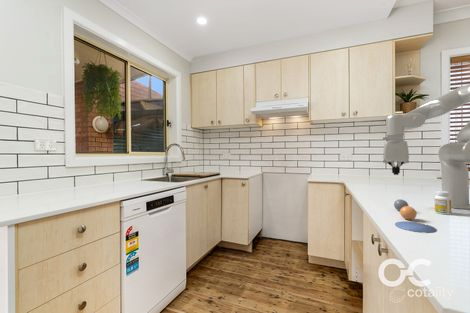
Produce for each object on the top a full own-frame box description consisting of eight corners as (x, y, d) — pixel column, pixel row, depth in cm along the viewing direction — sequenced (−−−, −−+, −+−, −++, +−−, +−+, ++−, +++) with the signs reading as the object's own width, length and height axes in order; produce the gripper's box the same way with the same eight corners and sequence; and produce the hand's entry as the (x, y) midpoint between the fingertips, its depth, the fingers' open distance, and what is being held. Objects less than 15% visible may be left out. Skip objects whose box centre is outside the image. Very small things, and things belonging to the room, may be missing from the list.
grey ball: (393, 209, 106) (392, 198, 106) (407, 210, 104) (406, 198, 104) (395, 212, 102) (394, 200, 102) (410, 213, 99) (409, 201, 99)
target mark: (392, 220, 90) (392, 220, 90) (430, 224, 84) (430, 223, 84) (398, 230, 79) (398, 229, 79) (441, 234, 73) (441, 234, 73)
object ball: (398, 216, 94) (398, 204, 94) (414, 218, 91) (414, 205, 91) (401, 220, 89) (401, 207, 89) (418, 222, 87) (418, 208, 87)
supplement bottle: (444, 211, 100) (443, 190, 99) (455, 214, 94) (454, 192, 94) (431, 211, 100) (431, 190, 100) (441, 214, 95) (441, 192, 95)
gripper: (378, 139, 111) (379, 175, 111) (415, 137, 104) (416, 175, 104) (377, 140, 118) (377, 173, 118) (411, 138, 111) (412, 174, 111)
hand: (395, 174), depth 111 cm, fingers closed
